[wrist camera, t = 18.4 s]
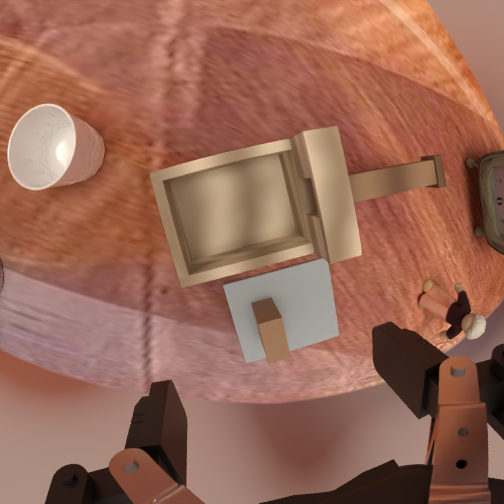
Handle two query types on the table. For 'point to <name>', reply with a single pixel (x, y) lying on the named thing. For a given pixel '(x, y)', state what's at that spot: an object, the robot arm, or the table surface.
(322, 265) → the lid
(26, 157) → the white cup
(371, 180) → the bar
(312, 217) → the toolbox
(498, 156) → the tabletop clock
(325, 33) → the table surface
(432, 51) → the table surface
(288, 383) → the table surface
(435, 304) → the grandmother figurine
